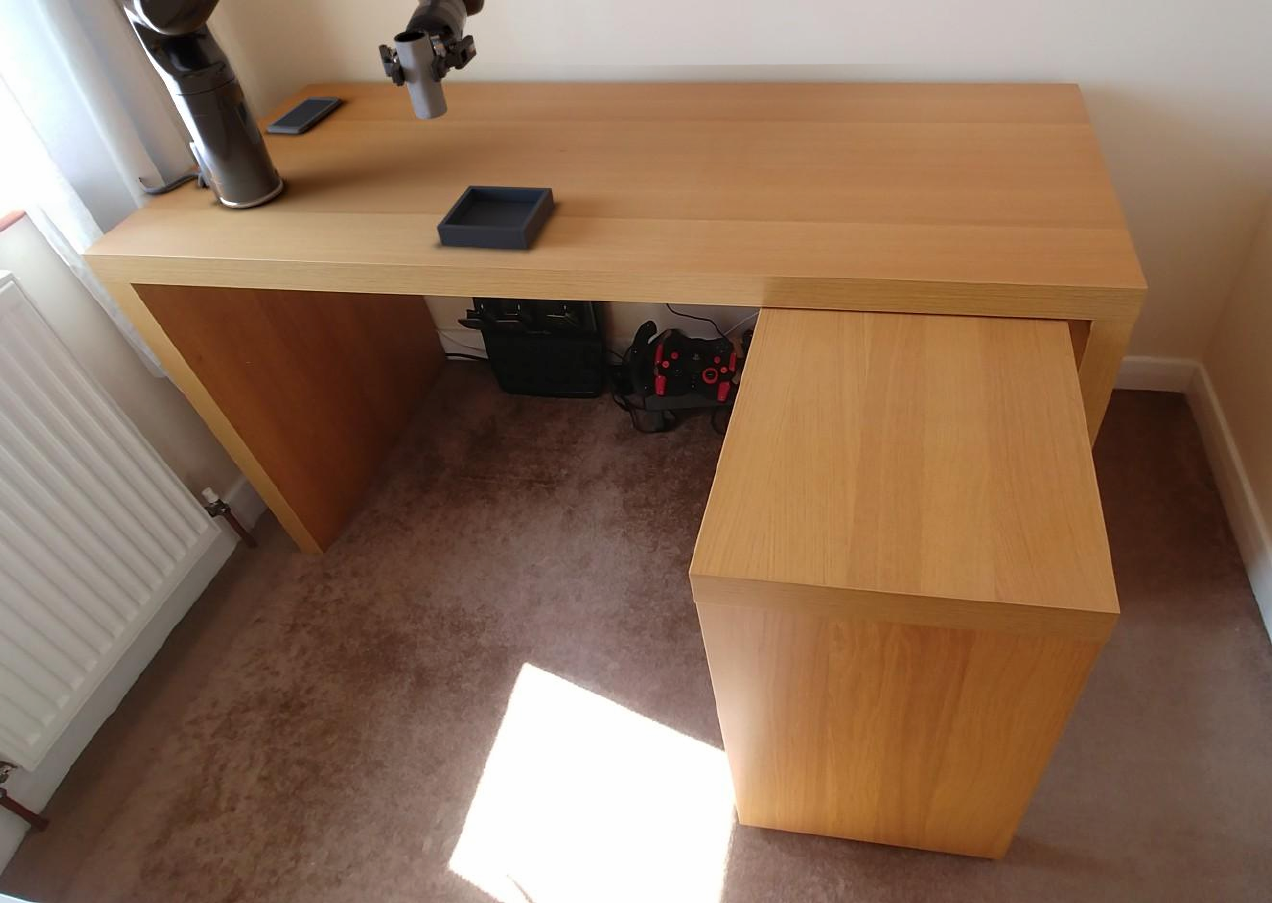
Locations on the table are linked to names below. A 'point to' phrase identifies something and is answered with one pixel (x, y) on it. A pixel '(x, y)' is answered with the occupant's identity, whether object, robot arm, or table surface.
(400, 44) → the grey hollow cylinder
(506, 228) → the tray
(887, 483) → the table surface
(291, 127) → the cell phone
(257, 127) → the robot arm
